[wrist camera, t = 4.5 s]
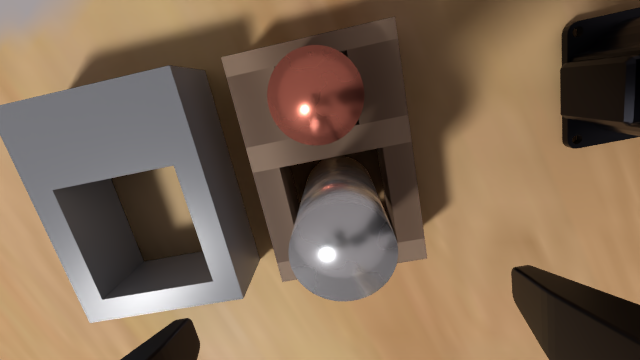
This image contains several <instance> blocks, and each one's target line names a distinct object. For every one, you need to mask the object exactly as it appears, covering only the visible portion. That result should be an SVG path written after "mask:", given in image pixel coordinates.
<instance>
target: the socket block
mask: <svg viewBox="0 0 640 360" xmlns="http://www.w3.org/2000/svg"><path fill="white" fill-rule="evenodd" d="M308 45H323V46H328V47H331V48H333V49H336V50H338V51H340V52H341V53H343V54H344V55H345V56H347V57H348V58H349V59H350V60H351V61H352V62H353V64H354V65H355V66H356V68H357V70H358V72H359V73H360V76H361V79H362V82H363V86H364V105H363V109H362V113H361V115H360V117H359V119H358V121H357V123H356V124H355V126H354V127H353V128H352V130H351V131H350V132H349V133H347V134H346V135H345V136H344V137H342V138H341V139H339V140H337V141H335V142H332V143H329V144H326V145H306V144H302V143H299V142H297V141H295V140H293V139H291V138H290V137H288V136H287V135H286V134H284V133H283V132H282V131H281V130H280V129H279V127H278V126H277V125H276V123H275V122H274V120H273V118H272V116H271V114H270V110H269V107H268V101H267V89H268V83H269V80H270V77H271V74H272V72H273V70H274V68H275V67H276V65H277V64H278V63H279V62H280V60H281V59H282V58H283V57H285V56H286V55H287V54H288V53H290V52H291V51H293V50H295V49H297V48H300V47H303V46H308ZM221 60H222V63H223V67H224V70H225V74H226V78H227V81H228V85H229V89H230V92H231V96H232V100H233V103H234V107H235V111H236V114H237V118H238V122H239V125H240V129H241V132H242V136H243V140H244V143H245V147H246V151H247V154H248V158H249V162H250V165H251V169H252V173H253V176H254V180H255V184H256V187H257V191H258V194H259V198H260V202H261V205H262V209H263V213H264V216H265V220H266V224H267V227H268V231H269V235H270V238H271V242H272V246H273V249H274V253H275V256H276V260H277V264H278V267H279V271H280V275H281V278H282V282H284V281H290V280H297V278H296V276H295V274H294V272H293V270H292V268H291V265H290V261H289V253H288V250H289V243H290V239H291V235H292V232H293V228H294V225H295V221H296V218H297V214H298V211H299V207H300V205H299V201H298V197H297V193H296V189H295V184H294V180H293V176H292V172H291V168H290V165H296V164H301V163H306V162H311V161H316V160H321V159H326V158H331V157H336V156H341V155H346V154H352V153H357V152H362V151H367V150H372V149H377V153H378V160H379V166H380V172H381V178H382V184H383V190H384V196H385V202H386V209H387V215H388V220H389V223H390V225H391V227H392V230H393V232H394V235H395V237H396V240H397V245H398V260H397V263H402V262H408V261H414V260H420V259H426V258H427V253H426V245H425V238H424V230H423V223H422V215H421V208H420V200H419V193H418V185H417V178H416V170H415V163H414V155H413V148H412V140H411V133H410V125H409V118H408V110H407V103H406V95H405V88H404V80H403V73H402V65H401V58H400V50H399V43H398V35H397V28H396V20H395V17H391V18H386V19H382V20H378V21H374V22H369V23H365V24H361V25H357V26H352V27H348V28H344V29H339V30H335V31H331V32H327V33H322V34H318V35H314V36H310V37H305V38H301V39H297V40H293V41H288V42H284V43H280V44H275V45H271V46H267V47H263V48H258V49H254V50H250V51H246V52H241V53H237V54H233V55H229V56H224V57H221Z"/></svg>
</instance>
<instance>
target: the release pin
mask: <svg viewBox="0 0 640 360" xmlns="http://www.w3.org/2000/svg"><path fill="white" fill-rule="evenodd" d="M267 101H268V107H269V110H270V114H271V116H272V118H273V120H274V122H275V123H276V125H277V126H278V127H279V129H280V130H281V131H282V132H283V133H284V134H286V135H287V136H288V137H290V138H291V139H293V140H295V141H297V142H299V143H302V144H306V145H326V144H329V143H332V142H335V141H337V140H339V139H341V138H342V137H344V136H345V135H346V134H347V133H349V132H350V131H351V130H352V128H353V127H354V126H355V124H356V123H357V121H358V119H359V117H360V115H361V113H362V109H363V105H364V86H363V82H362V79H361V76H360V73H359V72H358V70H357V68H356V66H355V65H354V64H353V62H352V61H351V60H350V59H349V58H348V57H347V56H345V55H344V54H343V53H341V52H340V51H338V50H336V49H333V48H331V47H328V46H323V45H308V46H303V47H300V48H297V49H295V50H293V51H291V52H290V53H288V54H287V55H286V56H285V57H283V58H282V59H281V60H280V62H279V63H278V64H277V65H276V67H275V68H274V70H273V72H272V74H271V77H270V80H269V83H268V89H267Z"/></svg>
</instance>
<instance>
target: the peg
mask: <svg viewBox="0 0 640 360" xmlns="http://www.w3.org/2000/svg"><path fill="white" fill-rule="evenodd" d="M288 253H289V261H290V265H291V268H292V270H293V272H294V274H295V276H296V278H297V279H298V280H299V282H300V283H301V284H302V285H303V286H304V287H305V288H307V289H308V290H309V291H311V292H312V293H314V294H316V295H318V296H320V297H323V298H325V299H329V300H334V301H353V300H358V299H361V298H364V297H367V296H369V295H371V294H373V293H375V292H376V291H378V290H379V289H380V288H381V287H383V286H384V285H385V284H386V282H387V281H388V280H389V279H390V277H391V276H392V274H393V272H394V270H395V267H396V264H397V260H398V245H397V240H396V237H395V235H394V232H393V230H392V227H391V225H390V223H389V220H388V218H387V215H386V213H385V211H384V208H383V206H382V203H381V201H380V199H379V196H378V194H377V192H376V189H375V187H374V184H373V182H372V180H371V177H370V175H369V173H368V171H367V170H366V168H365V167H364V166H363V165H362V164H361V163H359V162H358V161H356V160H354V159H352V158H349V157H344V156H336V157H331V158H327V159H324V160H323V161H321V162H319V163H318V164H317V165H316V166H315V167H314V168H313V169H312V171H311V172H310V174H309V176H308V179H307V183H306V186H305V190H304V193H303V197H302V200H301V204H300V207H299V211H298V214H297V218H296V221H295V225H294V228H293V232H292V235H291V239H290V243H289V250H288Z"/></svg>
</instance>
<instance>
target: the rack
mask: <svg viewBox="0 0 640 360" xmlns="http://www.w3.org/2000/svg"><path fill="white" fill-rule="evenodd" d="M0 136H1V138H2V140H3V142H4V144H5V146H6V148H7V150H8V152H9V154H10V156H11V159H12V161H13V163H14V165H15V167H16V169H17V171H18V173H19V175H20V177H21V180H22V182H23V184H24V186H25V188H26V190H27V192H28V194H29V196H30V198H31V201H32V203H33V205H34V207H35V209H36V211H37V213H38V215H39V217H40V219H41V221H42V224H43V226H44V228H45V230H46V232H47V234H48V236H49V238H50V240H51V242H52V245H53V247H54V249H55V251H56V253H57V255H58V257H59V259H60V261H61V263H62V266H63V268H64V270H65V272H66V274H67V276H68V278H69V280H70V282H71V284H72V287H73V289H74V291H75V293H76V295H77V297H78V299H79V301H80V303H81V305H82V307H83V310H84V312H85V314H86V316H87V318H88V320H89V322H90V323H92V322H99V321H105V320H111V319H118V318H124V317H130V316H137V315H143V314H149V313H155V312H162V311H168V310H174V309H181V308H187V307H193V306H200V305H206V304H212V303H219V302H225V301H231V300H237V299H243V298H244V296H245V294H246V291H247V289H248V287H249V284H250V282H251V280H252V277H253V275H254V272H255V270H256V268H257V265H258V263H259V261H260V259H259V255H258V252H257V248H256V245H255V241H254V238H253V234H252V231H251V228H250V224H249V221H248V217H247V214H246V210H245V207H244V203H243V200H242V196H241V193H240V190H239V186H238V183H237V179H236V176H235V172H234V169H233V165H232V162H231V159H230V155H229V152H228V148H227V145H226V141H225V138H224V134H223V131H222V127H221V124H220V121H219V117H218V114H217V110H216V107H215V103H214V100H213V96H212V93H211V89H210V86H209V83H208V79H207V76H206V72H205V70H199V69H192V68H185V67H177V66H170V65H169V66H165V67H161V68H156V69H152V70H148V71H144V72H139V73H135V74H131V75H127V76H122V77H118V78H114V79H110V80H105V81H101V82H97V83H93V84H88V85H84V86H80V87H76V88H71V89H67V90H63V91H59V92H55V93H50V94H46V95H42V96H38V97H33V98H29V99H25V100H21V101H16V102H12V103H8V104H4V105H0ZM173 165H174V168H175V171H176V174H177V177H178V180H179V182H180V185H181V188H182V191H183V194H184V197H185V200H186V203H187V206H188V209H189V212H190V215H191V218H192V221H193V224H194V227H195V229H196V232H197V235H198V238H199V241H200V244H201V247H202V250H203V251H201V252H196V253H190V254H184V255H179V256H173V257H167V258H162V259H156V260H150V261H143V258H142V256H141V253H140V251H139V248H138V246H137V243H136V241H135V238H134V236H133V233H132V231H131V228H130V226H129V223H128V221H127V218H126V216H125V213H124V211H123V208H122V206H121V203H120V201H119V198H118V195H117V193H116V190H115V188H114V185H113V183H112V180H111V178H115V177H119V176H124V175H129V174H134V173H139V172H144V171H149V170H154V169H159V168H164V167H168V166H173Z"/></svg>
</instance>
